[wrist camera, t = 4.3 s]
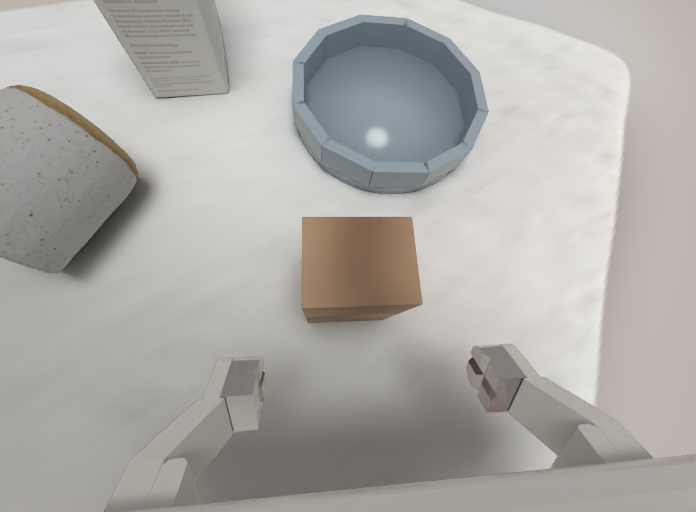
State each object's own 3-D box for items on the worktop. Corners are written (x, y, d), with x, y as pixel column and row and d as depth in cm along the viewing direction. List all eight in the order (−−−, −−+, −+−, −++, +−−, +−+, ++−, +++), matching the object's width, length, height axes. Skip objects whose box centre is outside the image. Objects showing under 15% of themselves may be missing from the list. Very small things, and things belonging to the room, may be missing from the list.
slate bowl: (295, 193, 22) (291, 170, 19) (296, 46, 26) (293, 9, 23) (480, 194, 24) (502, 174, 21) (452, 56, 28) (468, 23, 25)
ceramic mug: (168, 187, 21) (86, 101, 14) (88, 286, 19) (-64, 246, 11) (47, 126, 22) (-94, 14, 14) (-47, 214, 19) (-273, 132, 12)
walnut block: (308, 322, 19) (302, 308, 12) (307, 264, 20) (302, 217, 13) (382, 319, 20) (422, 304, 12) (377, 263, 21) (411, 217, 13)
